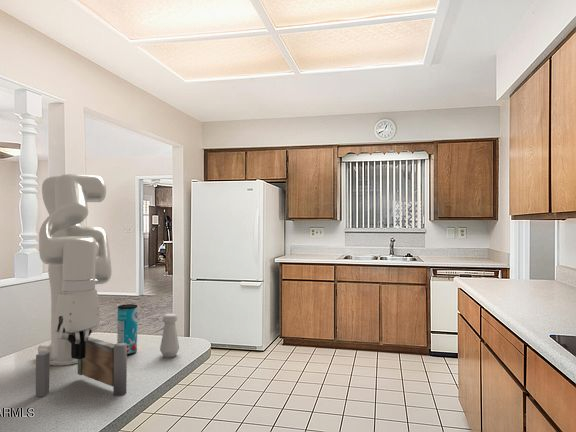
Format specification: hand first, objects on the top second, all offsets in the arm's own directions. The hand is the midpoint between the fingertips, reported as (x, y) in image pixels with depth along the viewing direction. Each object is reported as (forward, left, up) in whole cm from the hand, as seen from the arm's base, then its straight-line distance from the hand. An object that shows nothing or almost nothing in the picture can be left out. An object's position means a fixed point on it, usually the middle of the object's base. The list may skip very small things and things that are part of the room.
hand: (78, 357), depth 107 cm
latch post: (-7, -4, -7) cm, 11 cm away
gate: (+4, +1, -6) cm, 7 cm away
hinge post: (+12, -4, -7) cm, 15 cm away
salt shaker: (+18, +24, -8) cm, 31 cm away
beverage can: (+4, +27, -8) cm, 28 cm away
